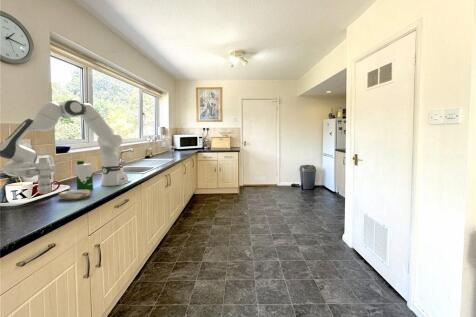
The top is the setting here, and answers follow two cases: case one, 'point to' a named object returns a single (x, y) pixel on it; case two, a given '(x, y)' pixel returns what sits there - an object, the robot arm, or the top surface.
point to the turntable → (74, 194)
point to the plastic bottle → (44, 176)
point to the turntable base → (75, 199)
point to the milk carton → (84, 175)
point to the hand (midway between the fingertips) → (44, 171)
